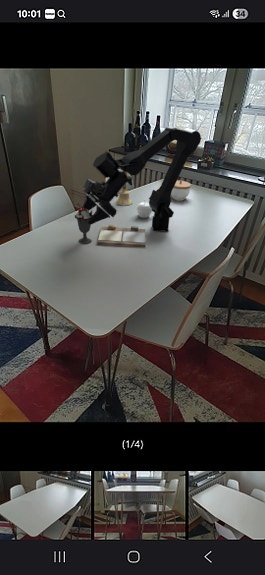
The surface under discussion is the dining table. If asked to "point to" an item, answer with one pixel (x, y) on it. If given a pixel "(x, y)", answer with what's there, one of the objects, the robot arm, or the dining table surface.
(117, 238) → the board
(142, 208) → the plain white apple
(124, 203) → the hand bell
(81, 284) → the dining table surface
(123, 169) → the robot arm
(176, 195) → the lidded jar
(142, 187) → the dining table surface
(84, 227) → the sundae
